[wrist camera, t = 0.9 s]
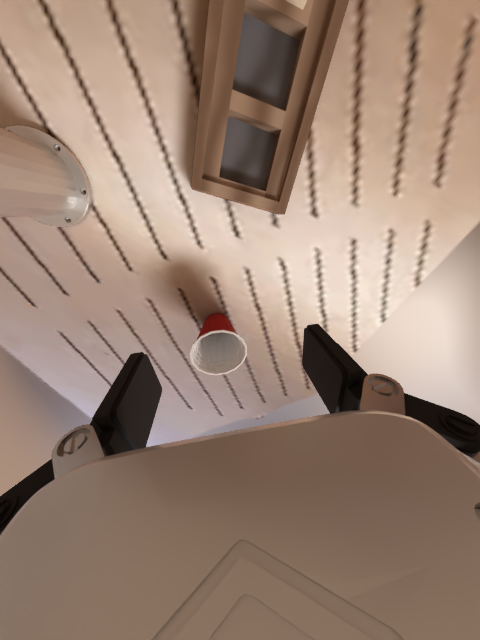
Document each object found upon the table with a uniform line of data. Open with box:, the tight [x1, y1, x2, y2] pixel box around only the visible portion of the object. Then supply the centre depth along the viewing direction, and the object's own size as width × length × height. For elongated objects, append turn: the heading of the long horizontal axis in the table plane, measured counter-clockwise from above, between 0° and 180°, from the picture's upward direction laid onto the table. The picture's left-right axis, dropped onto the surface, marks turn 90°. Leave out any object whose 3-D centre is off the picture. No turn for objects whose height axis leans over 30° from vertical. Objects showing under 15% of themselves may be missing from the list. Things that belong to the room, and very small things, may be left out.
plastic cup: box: [190, 313, 247, 375], centre depth 41 cm, size 11×11×12 cm
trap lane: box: [191, 0, 349, 214], centre depth 23 cm, size 16×40×6 cm, turn 167°
